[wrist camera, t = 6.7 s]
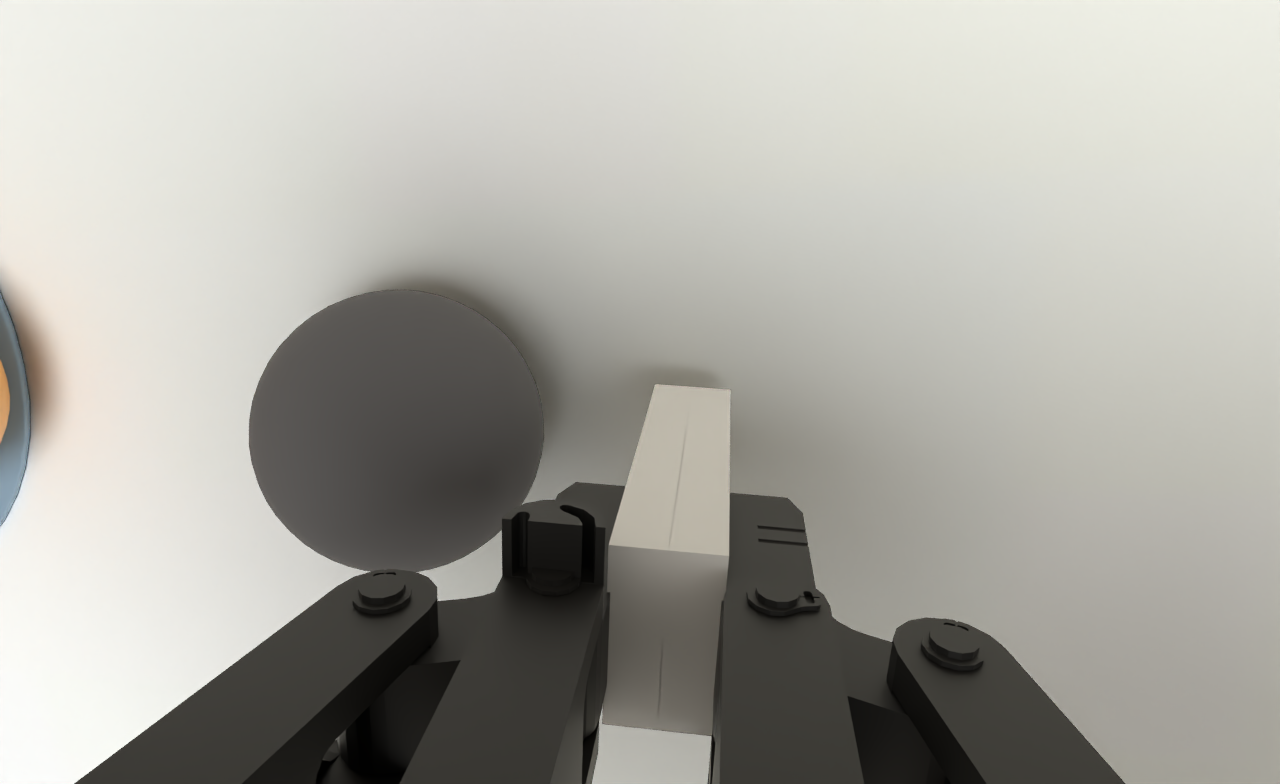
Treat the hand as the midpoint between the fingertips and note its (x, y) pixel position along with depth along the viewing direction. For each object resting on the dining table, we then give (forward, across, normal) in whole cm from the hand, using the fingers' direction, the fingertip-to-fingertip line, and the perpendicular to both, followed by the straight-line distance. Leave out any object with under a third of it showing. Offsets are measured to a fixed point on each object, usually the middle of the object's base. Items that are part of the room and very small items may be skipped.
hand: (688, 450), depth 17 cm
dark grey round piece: (-1, +6, 0) cm, 6 cm away
